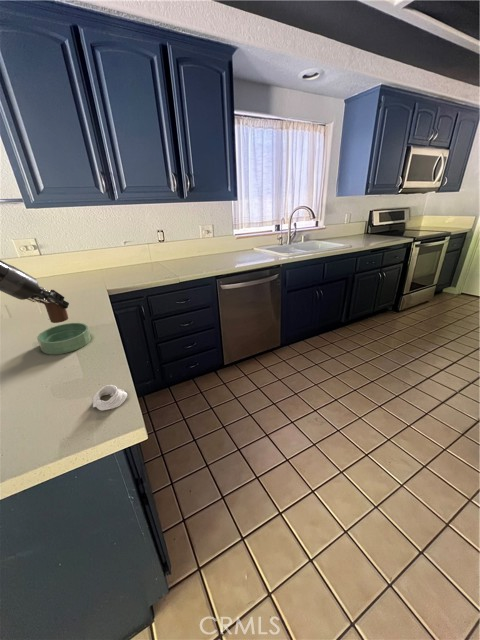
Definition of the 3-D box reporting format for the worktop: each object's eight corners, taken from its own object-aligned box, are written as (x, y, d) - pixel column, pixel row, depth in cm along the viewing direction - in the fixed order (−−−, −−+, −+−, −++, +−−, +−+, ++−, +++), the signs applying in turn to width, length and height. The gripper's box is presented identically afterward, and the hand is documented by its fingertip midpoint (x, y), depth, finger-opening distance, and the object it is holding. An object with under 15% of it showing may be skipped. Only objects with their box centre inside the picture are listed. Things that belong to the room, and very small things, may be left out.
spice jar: (48, 323, 88) (40, 300, 84) (53, 317, 92) (45, 294, 89) (66, 321, 89) (58, 298, 86) (70, 315, 94) (63, 293, 90)
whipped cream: (128, 394, 72) (126, 378, 71) (126, 409, 66) (124, 392, 65) (96, 398, 70) (93, 382, 68) (91, 414, 64) (88, 397, 62)
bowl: (35, 359, 86) (29, 345, 84) (50, 337, 100) (46, 325, 97) (86, 351, 90) (82, 338, 88) (94, 332, 104) (91, 320, 101)
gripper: (38, 271, 75) (81, 296, 90) (-2, 268, 78) (47, 294, 93) (27, 295, 72) (73, 317, 88) (-13, 291, 75) (38, 313, 91)
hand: (59, 305), depth 90 cm, fingers closed on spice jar, 5 cm apart
